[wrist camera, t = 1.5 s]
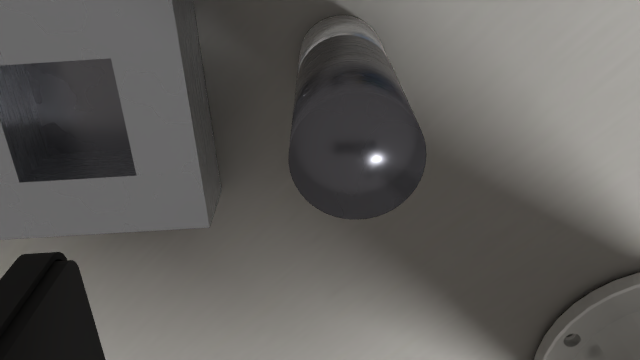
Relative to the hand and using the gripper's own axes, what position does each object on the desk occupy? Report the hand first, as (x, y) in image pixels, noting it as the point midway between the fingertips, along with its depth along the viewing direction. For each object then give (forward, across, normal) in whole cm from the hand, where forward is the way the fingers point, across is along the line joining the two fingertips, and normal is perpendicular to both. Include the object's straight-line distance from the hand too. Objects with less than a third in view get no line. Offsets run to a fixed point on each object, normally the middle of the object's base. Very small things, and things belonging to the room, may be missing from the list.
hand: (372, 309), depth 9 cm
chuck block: (+18, +11, -3) cm, 21 cm away
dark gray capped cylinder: (+18, 0, 0) cm, 18 cm away
